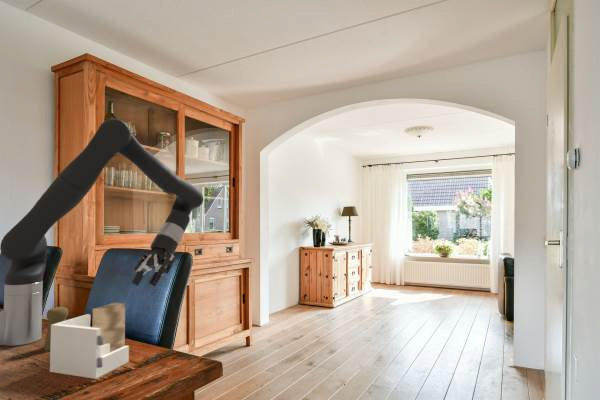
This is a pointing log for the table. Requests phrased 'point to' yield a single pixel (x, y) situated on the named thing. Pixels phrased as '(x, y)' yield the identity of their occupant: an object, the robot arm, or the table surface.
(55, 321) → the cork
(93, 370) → the white open box
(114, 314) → the block
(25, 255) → the robot arm
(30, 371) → the table surface
